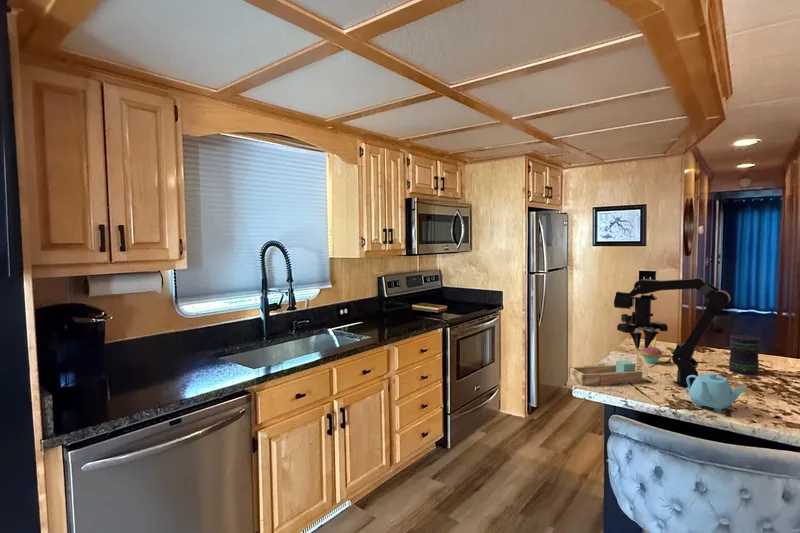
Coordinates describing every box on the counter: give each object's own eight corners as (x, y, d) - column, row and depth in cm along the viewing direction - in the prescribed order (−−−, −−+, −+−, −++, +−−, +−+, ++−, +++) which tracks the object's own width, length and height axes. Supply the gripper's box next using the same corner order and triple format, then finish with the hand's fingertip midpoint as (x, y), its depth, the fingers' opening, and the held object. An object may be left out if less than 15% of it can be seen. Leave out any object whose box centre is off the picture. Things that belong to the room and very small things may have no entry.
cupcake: (656, 360, 202) (657, 334, 201) (665, 365, 193) (666, 338, 193) (636, 359, 203) (637, 334, 202) (645, 365, 194) (646, 338, 194)
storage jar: (764, 376, 177) (765, 340, 176) (736, 374, 179) (738, 339, 178) (749, 368, 187) (751, 334, 186) (723, 367, 189) (725, 333, 188)
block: (635, 376, 175) (635, 363, 174) (623, 376, 174) (624, 364, 174) (626, 372, 179) (627, 360, 179) (615, 372, 179) (616, 360, 178)
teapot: (748, 416, 138) (750, 381, 138) (701, 414, 140) (702, 380, 140) (721, 399, 153) (722, 367, 153) (678, 397, 155) (679, 366, 155)
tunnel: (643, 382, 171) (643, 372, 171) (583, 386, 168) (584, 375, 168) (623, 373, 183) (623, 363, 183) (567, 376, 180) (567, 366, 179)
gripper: (649, 306, 185) (648, 342, 186) (609, 307, 183) (608, 344, 184) (669, 310, 174) (668, 349, 175) (626, 312, 172) (625, 351, 173)
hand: (641, 348), depth 177 cm, fingers open, 4 cm apart
